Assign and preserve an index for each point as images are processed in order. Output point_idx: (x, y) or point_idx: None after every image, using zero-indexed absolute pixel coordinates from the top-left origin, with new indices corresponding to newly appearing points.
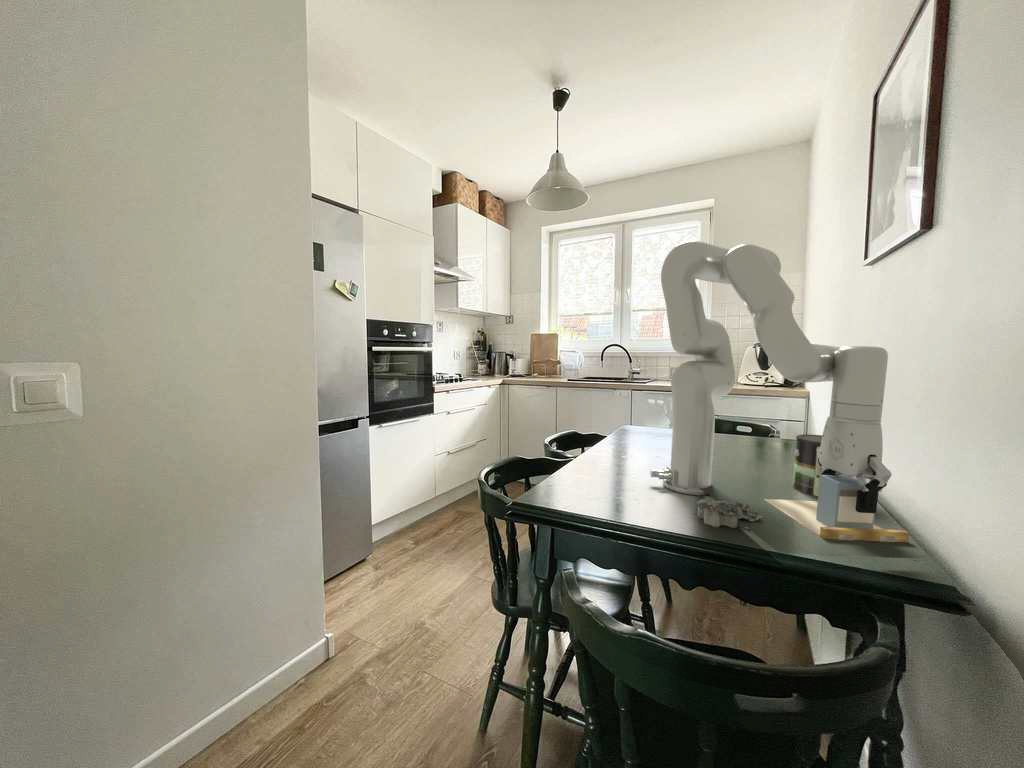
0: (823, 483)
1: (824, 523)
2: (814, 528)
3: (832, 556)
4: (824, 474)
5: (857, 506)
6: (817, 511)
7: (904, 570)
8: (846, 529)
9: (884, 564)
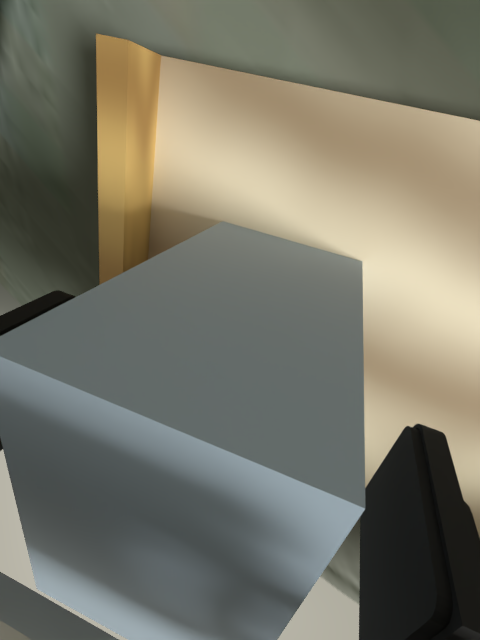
0: (282, 389)
1: (291, 243)
2: (256, 124)
3: (70, 15)
4: (449, 632)
5: (36, 301)
6: (356, 277)
7: (16, 222)
8: (104, 187)
9: (41, 197)
